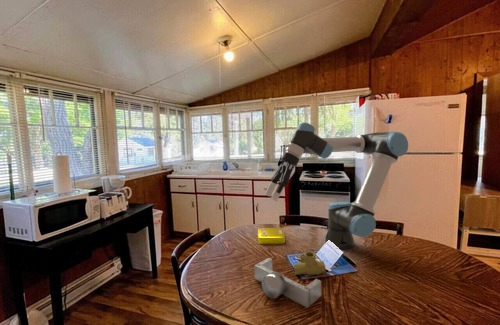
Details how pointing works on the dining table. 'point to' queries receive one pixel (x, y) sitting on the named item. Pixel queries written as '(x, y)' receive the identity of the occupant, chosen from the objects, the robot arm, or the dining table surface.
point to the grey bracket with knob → (285, 285)
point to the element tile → (271, 236)
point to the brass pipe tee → (309, 265)
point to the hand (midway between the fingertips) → (270, 197)
